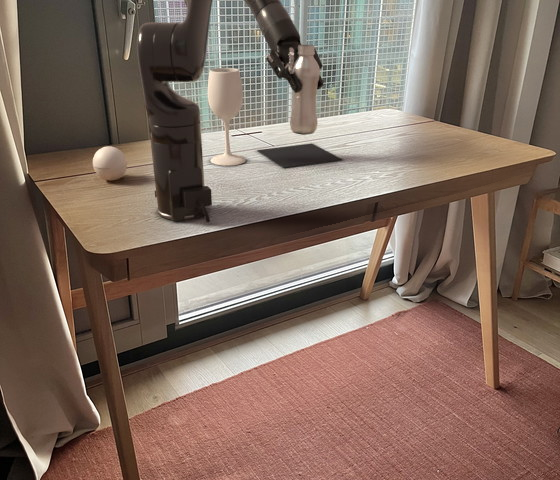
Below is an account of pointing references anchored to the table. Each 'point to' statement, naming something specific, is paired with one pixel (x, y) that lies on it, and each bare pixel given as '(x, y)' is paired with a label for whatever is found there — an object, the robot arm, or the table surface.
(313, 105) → the plastic bottle
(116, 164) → the white sphere
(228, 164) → the wineglass
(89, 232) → the table surface
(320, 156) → the felt mat
